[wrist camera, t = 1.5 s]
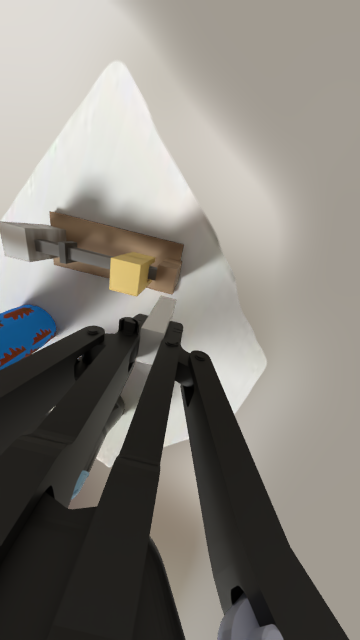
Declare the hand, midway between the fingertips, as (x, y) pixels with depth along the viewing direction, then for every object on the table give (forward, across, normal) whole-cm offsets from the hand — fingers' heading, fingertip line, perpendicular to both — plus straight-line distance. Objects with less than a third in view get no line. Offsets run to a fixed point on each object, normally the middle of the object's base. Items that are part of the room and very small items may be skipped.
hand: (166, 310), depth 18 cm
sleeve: (+16, +7, 0) cm, 18 cm away
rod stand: (+22, +14, 0) cm, 26 cm away
